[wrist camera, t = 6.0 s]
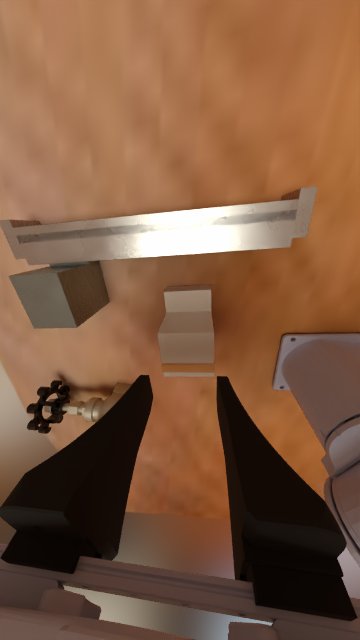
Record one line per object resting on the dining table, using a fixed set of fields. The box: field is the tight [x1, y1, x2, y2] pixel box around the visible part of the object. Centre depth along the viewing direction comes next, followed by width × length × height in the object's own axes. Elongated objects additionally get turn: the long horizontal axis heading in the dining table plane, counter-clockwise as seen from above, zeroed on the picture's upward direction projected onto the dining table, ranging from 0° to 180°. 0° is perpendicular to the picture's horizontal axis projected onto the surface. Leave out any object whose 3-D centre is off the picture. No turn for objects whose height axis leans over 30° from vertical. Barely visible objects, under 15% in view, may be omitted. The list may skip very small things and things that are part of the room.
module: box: [157, 285, 214, 377], centre depth 17 cm, size 4×7×6 cm
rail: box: [0, 186, 317, 328], centre depth 15 cm, size 24×8×6 cm, turn 94°
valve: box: [27, 380, 131, 434], centre depth 24 cm, size 7×7×12 cm
